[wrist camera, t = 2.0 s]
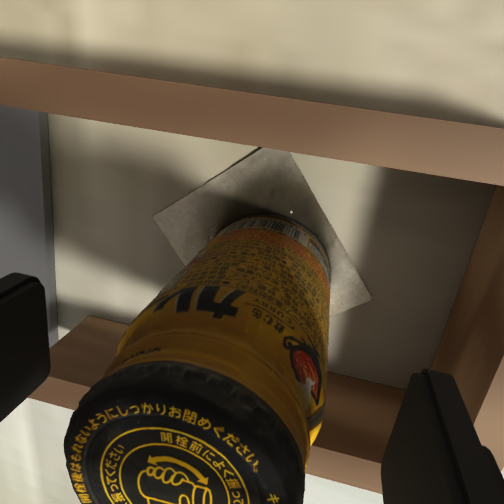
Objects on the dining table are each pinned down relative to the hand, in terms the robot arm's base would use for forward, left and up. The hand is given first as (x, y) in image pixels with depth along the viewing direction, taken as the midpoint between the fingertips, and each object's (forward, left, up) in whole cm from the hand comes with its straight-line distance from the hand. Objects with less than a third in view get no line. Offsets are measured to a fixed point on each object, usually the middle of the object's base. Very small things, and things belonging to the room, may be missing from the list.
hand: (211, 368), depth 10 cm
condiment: (-1, 0, -10) cm, 10 cm away
